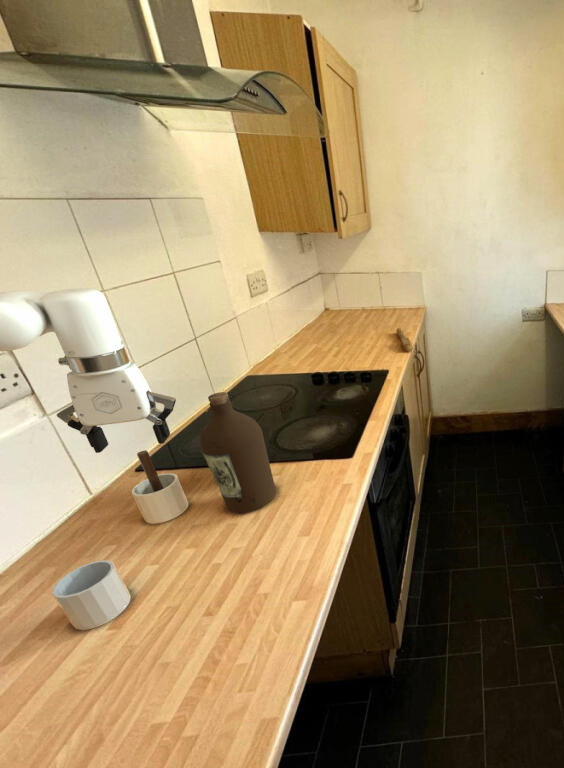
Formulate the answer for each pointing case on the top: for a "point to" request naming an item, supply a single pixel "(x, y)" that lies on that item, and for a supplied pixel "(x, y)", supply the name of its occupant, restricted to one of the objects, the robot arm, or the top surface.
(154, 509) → the white cup
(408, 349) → the rough brown stick
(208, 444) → the olive oil
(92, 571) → the white mortar
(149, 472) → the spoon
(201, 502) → the top surface
